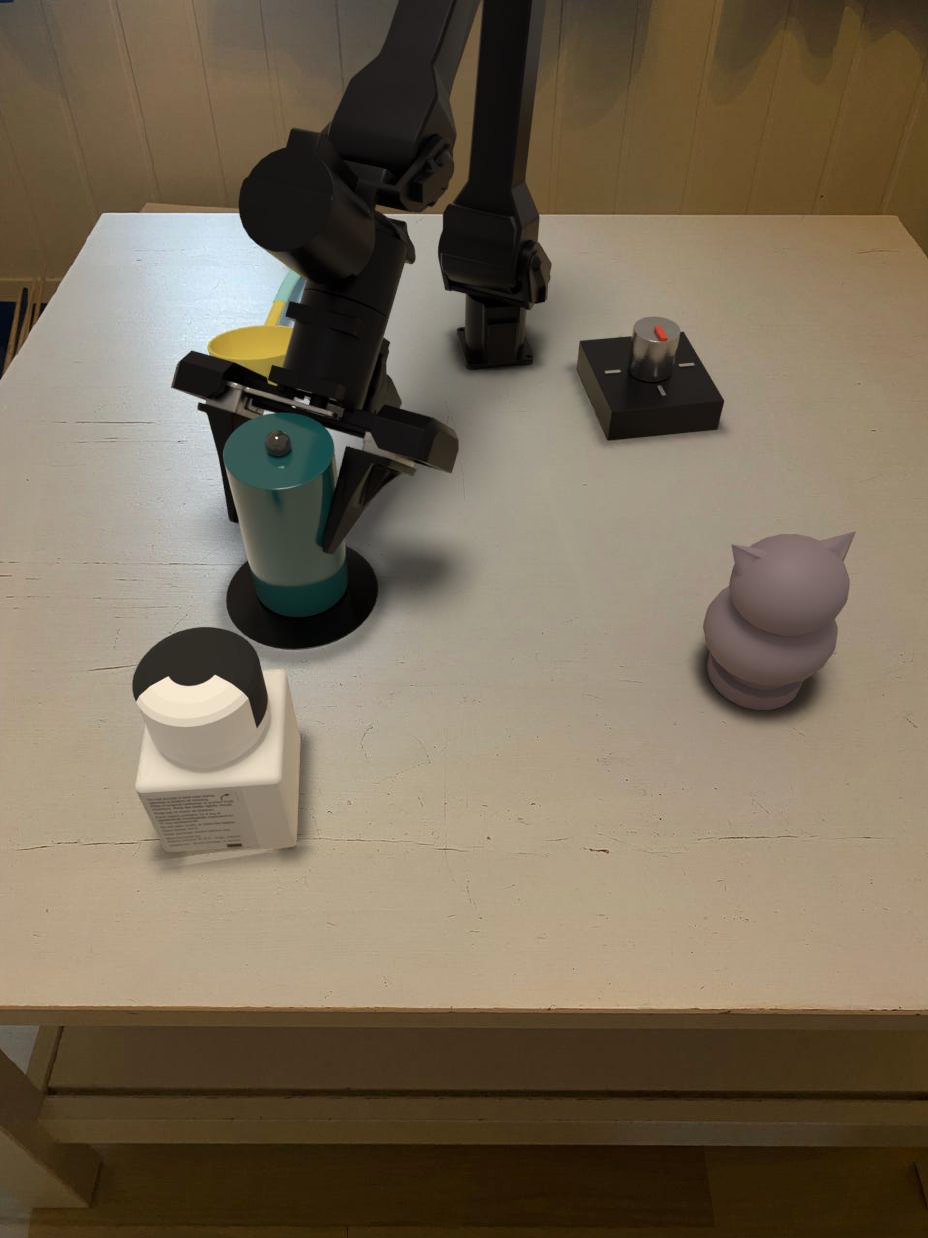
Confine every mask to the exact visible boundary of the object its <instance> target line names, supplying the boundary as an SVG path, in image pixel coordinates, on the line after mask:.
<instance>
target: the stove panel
mask: <svg viewBox="0 0 928 1238" xmlns="http://www.w3.org/2000/svg"><path fill="white" fill-rule="evenodd" d="M631 339H632V335H628V336H617V337H605V338H595V339H594V338H593V339H583V340H579V341H578V342H579V343H578V353H577V361H576V370H577V373H578V375H579V377H580V380H581V382H582V384H583V386H584V390H585V391H586V393H587V396H588V398H589V400H590V403H591V405H592V407H593V411H594V412H595V414H596V417H597V419H598V421H599V424H600V426H601V428H602V430H603V433H604V435H605V437H606V439H607V441H614V440H624V439H633V438H643V437H653V436H663V435H670V434H671V435H673V434H681V433H682V434H683V433H692V432H693V433H694V432H701V431H712V430H718V428H719V424H720V419H721V416H722V412H723V408H724V404H725V399H724V398H723V396H722V394H721V393H720V391H719V389H718V387H717V385H716V384H715V382H714V380H713V379H712V377H711V374H709V372H708V371H707V368H706V367H705V365H704V364H703V361H702V360H701V358H700V356H699V354H698V353H697V351H696V350H695V348H694V347H693V345H692V343H691V341H690V340H689V338H688V336H687V335H686V333H685V331H680V337H679V342H678V347H677V352H676V357H675V362H674V367H673V371H672V374H671V376H670V377H669V378H667V379H665V380H663V381H658V382H647V381H642V380H639V379H637V378H635V377H633V376H632V375H631V374H630V373H629V371H628V369H627V364H628V358H629V351H630V345H631Z"/></svg>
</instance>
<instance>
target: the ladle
mask: <svg viewBox="0 0 928 1238" xmlns="http://www.w3.org/2000/svg"><path fill="white" fill-rule="evenodd" d="M301 278H302V277H301V276H300V275H298V274H297V273H296V272H294V271H293V270H291V269H290V270H288V272H287V273H286V275H285V276H284V278H283V280H282V282H281V284H280V285H279V287H278V290H277V292H276V294H275V297H274V299H273V301H272V306H271V308H270V310H269V312H268V314H267V317H266V320H265V322H264V324H263V325H250V326H244V327H237V328H234V329H230V330H226V331H224V332H222V333H219V334H217V335H216V336H214V337H213V338H212V339H210V340H209V341H208V344H207V346H206V348H207V351H208V355H210V356H214V357H217V358H221V359H225V360H228V361H232V362H235V363H237V364H239V365H242V366H244V367H246V368H248V369H250V370H252V371H254V372H257V373H259V374H261V375H263V376H265V377H267V380H268V377H269V373H270V370H271V366H272V365H275V366H279V367H282V366H283V363H284V359H285V355H286V352H287V348H288V344H289V341H290V337H291V334H292V330H293V327H292V326H285V325H278V323H279V320H280V319H281V316H282V314H283V311H284V309H285V307H286V305H288V303H289V299H290V297H291V294H292V292H293V291H294V289H295V288H296V286H297V284H298V282H299V280H300V279H301ZM268 383H269V384H272V385H276V386H277V384H275V383H273V382H271V381H268Z"/></svg>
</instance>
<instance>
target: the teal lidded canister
mask: <svg viewBox="0 0 928 1238" xmlns="http://www.w3.org/2000/svg"><path fill="white" fill-rule="evenodd" d="M328 430H329V429H328V428H325V427H324V426H323V425H322V424H320V423H319V422H317V421H316V420H314V419H312V418H310V417H307V416H304V415H300V414H295V413H273V412H271V413H267V414H266V413H265V414H263V415H262V416H259V417H256V418H253V419H251V420H249V421H247V422H245V423H244V424H242V425H241V426H239V427H238V428H237V429H236V430H235V431H234V432H233V433H232V434H231V435H230V437H229V438H228V440H227V442H226V444H225V447H224V452H223V458H224V464H225V468H226V472H227V476H228V480H229V484H230V488H231V492H232V497H233V501H234V505H235V509H236V513H237V517H238V521H239V523H238V525H239V529H240V534H241V538H242V542H243V545H244V550H245V554H246V558H247V560H248V563H249V567H250V571H251V575H252V579H253V583H254V587H255V591H256V594H257V596H258V598H259V599H260V601H261V602H262V603H263V604H264V605H265V606H266V607H267V608H269V609H270V610H272V611H273V612H275V613H278V614H280V615H284V616H289V617H308V616H313V615H316V614H319V613H322V612H324V611H326V610H328V609H329V608H331V607H332V606H333V605H335V604H336V603H337V602H338V601H339V600H340V599H341V597H342V596H343V594H344V593H345V591H346V588H347V585H348V580H349V578H348V566H347V557H346V548H345V546H346V540H345V538H344V540H343V541H342V542H341V544H340V545H339V547H338V548H337V549H336V551H335V552H334V553H333V554H327V553H324V552H323V551H322V548H323V539H324V532H325V527H326V523H327V519H328V515H329V511H330V507H331V503H332V499H333V495H334V491H335V487H336V483H337V479H338V475H339V474H338V467H337V459H336V458H337V457H336V449H335V442H334V439H333V436H332V435H331V433H330V431H328Z"/></svg>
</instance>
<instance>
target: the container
mask: <svg viewBox="0 0 928 1238" xmlns="http://www.w3.org/2000/svg"><path fill="white" fill-rule="evenodd" d="M131 684H132V685H131V686H132V687H131V690H132V695H133V698H134V701H135V703H136V706H137V708H138V710H139V713H140V715H141V717H142V721H143V723H144V724H145V725H144V729H143V736H142V742H141V748H140V754H139V760H138V767H137V772H136V777H135V778H136V779H135V783H134V784H135V785H134V788H135V792H136V794H137V796H138V798H139V800H140V803H141V804H142V806H143V809H144V810H145V812H146V814H147V817H148V819H149V821H150V823H151V825H152V827H153V829H154V831H155V833H156V835H157V837H158V840H159V842H160V844H161V845H162V848H163V850H164V851H165V852H167V853H179V852H190V851H191V852H192V851H203V850H204V851H206V850H218V849H219V850H220V849H226V850H221V851H219V853H226V852H227V853H228V852H241V851H254V850H257V851H258V850H270V849H285V848H292V847H295V846H296V845H297V844H298V839H297V838H298V826H299V825H298V823H299V798H300V797H299V793H300V768H301V766H300V765H301V764H300V763H301V734H300V730H299V724H298V720H297V715H296V711H295V707H294V701H293V696H292V692H291V689H290V683H289V678H288V673H287V672H286V670H284V669H282V668H273V669H270V668H269V669H263V668H262V665H261V660H260V658H259V654H258V653H257V651H256V648H254V646H253V645H252V644H251V642H250V641H249V640H248V639H246V638H245V637H243V636H242V635H240V634H238V633H236V632H234V631H231V630H229V629H226V628H225V629H224V628H220V627H214V626H200V627H199V626H198V627H197V626H196V627H192V628H186V629H183V630H179V631H177V632H174V633H172V634H170V635H168V636H165V637H164V638H162V639H161V640H159V641H158V642H157V643H155V644H154V645H153V646H152V647H151V648H150V649H149V650H148V651H147V652H146V653H145V654H144V656H143V657H142V658H141V660H140V661H139V662H138V664H137V666H136V667H135V670H134V674H133V676H132V682H131ZM231 848H232V849H231ZM234 848H235V849H234ZM236 848H237V849H236ZM212 853H213V854H214V853H216V854H217V851H214V852H212Z"/></svg>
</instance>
